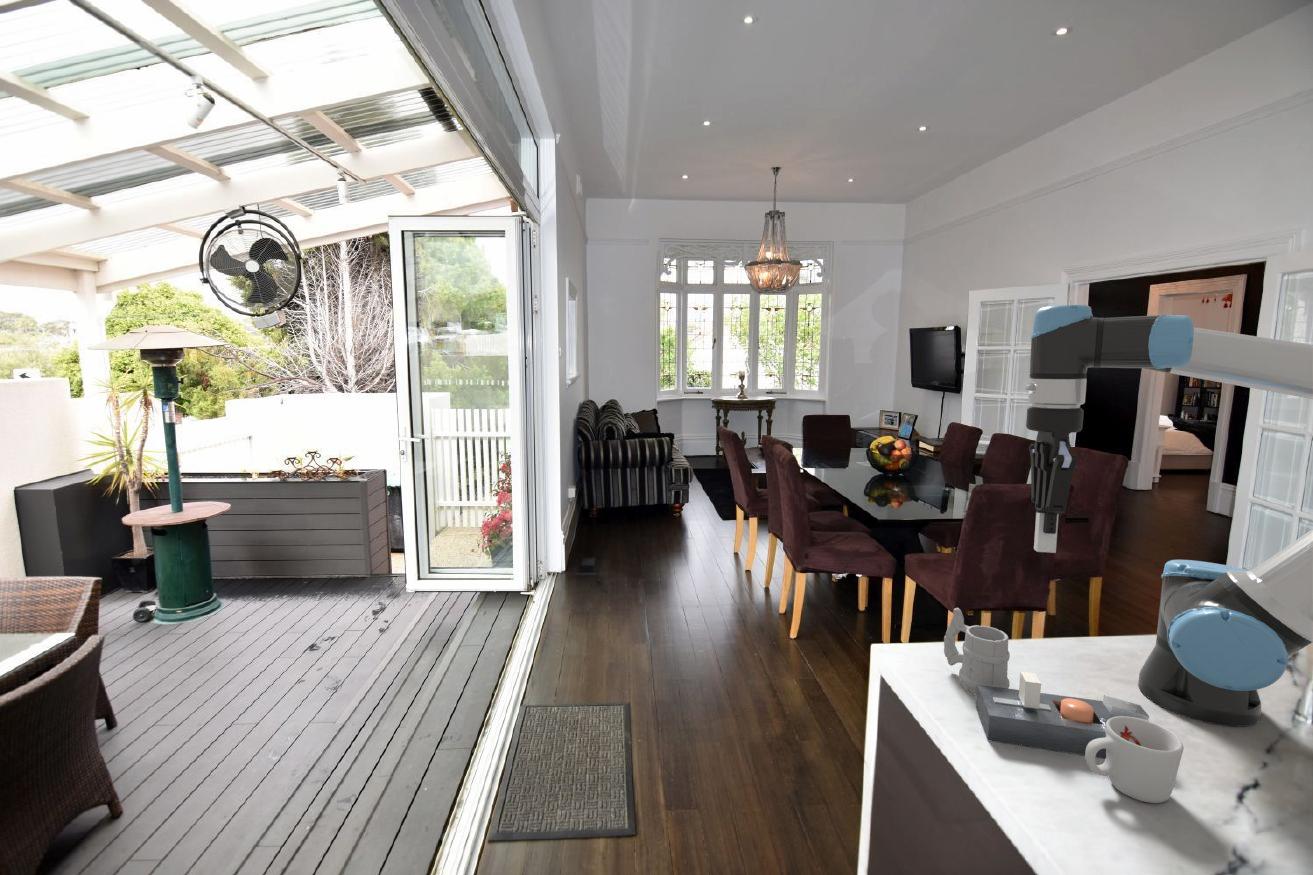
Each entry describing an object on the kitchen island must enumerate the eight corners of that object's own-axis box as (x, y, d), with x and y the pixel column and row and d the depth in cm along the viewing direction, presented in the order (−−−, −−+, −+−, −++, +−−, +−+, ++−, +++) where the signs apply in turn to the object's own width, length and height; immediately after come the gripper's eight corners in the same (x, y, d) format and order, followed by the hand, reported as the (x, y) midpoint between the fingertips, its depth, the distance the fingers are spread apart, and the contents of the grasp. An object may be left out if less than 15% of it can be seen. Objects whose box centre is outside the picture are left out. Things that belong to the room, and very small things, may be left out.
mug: (989, 704, 101) (994, 634, 99) (928, 671, 112) (932, 608, 110) (1019, 693, 104) (1024, 625, 103) (957, 662, 115) (961, 600, 113)
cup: (1104, 810, 78) (1110, 751, 77) (1065, 768, 85) (1070, 714, 84) (1194, 812, 77) (1200, 753, 76) (1146, 770, 85) (1152, 715, 84)
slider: (1033, 697, 95) (1035, 673, 94) (1039, 708, 92) (1041, 683, 91) (1018, 696, 95) (1020, 671, 95) (1023, 706, 92) (1025, 681, 92)
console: (1128, 729, 94) (1131, 700, 93) (1156, 766, 86) (1160, 735, 85) (975, 707, 100) (977, 680, 100) (987, 740, 92) (989, 710, 91)
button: (1085, 730, 94) (1087, 700, 93) (1095, 746, 90) (1098, 715, 89) (1055, 725, 95) (1057, 696, 94) (1063, 741, 91) (1066, 710, 90)
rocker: (1137, 711, 91) (1139, 705, 91) (1147, 723, 88) (1149, 716, 88) (1102, 701, 92) (1104, 695, 92) (1110, 713, 89) (1112, 706, 89)
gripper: (1015, 402, 105) (1006, 538, 108) (1043, 409, 92) (1033, 562, 95) (1065, 402, 103) (1055, 540, 106) (1101, 409, 90) (1088, 565, 93)
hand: (1044, 550), depth 100 cm, fingers closed
